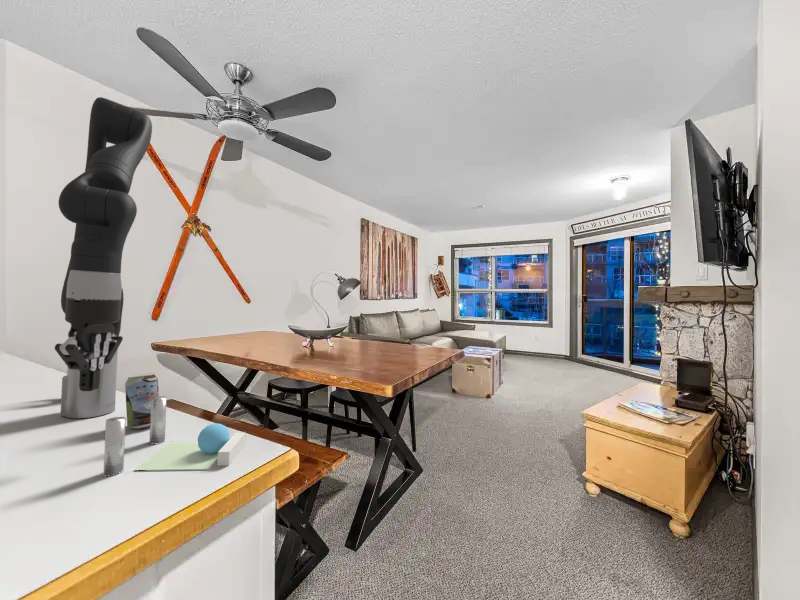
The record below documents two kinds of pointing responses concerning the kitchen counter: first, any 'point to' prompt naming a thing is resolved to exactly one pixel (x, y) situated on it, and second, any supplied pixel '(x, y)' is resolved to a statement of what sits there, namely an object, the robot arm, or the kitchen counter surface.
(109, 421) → the post
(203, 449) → the ball
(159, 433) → the post
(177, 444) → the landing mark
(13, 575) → the kitchen counter surface
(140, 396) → the beverage can
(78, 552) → the kitchen counter surface
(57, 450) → the kitchen counter surface
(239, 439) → the stopper wall
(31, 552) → the kitchen counter surface
